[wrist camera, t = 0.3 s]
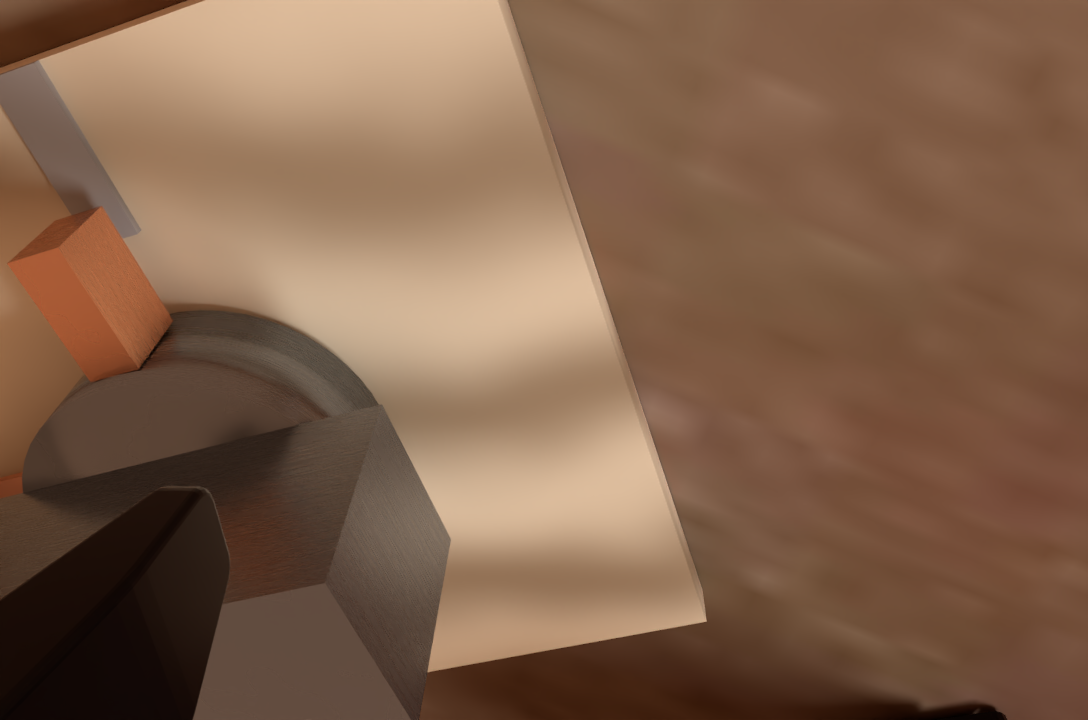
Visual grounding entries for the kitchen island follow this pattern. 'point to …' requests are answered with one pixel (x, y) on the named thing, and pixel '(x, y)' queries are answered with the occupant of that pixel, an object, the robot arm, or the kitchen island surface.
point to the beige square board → (370, 276)
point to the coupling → (235, 484)
